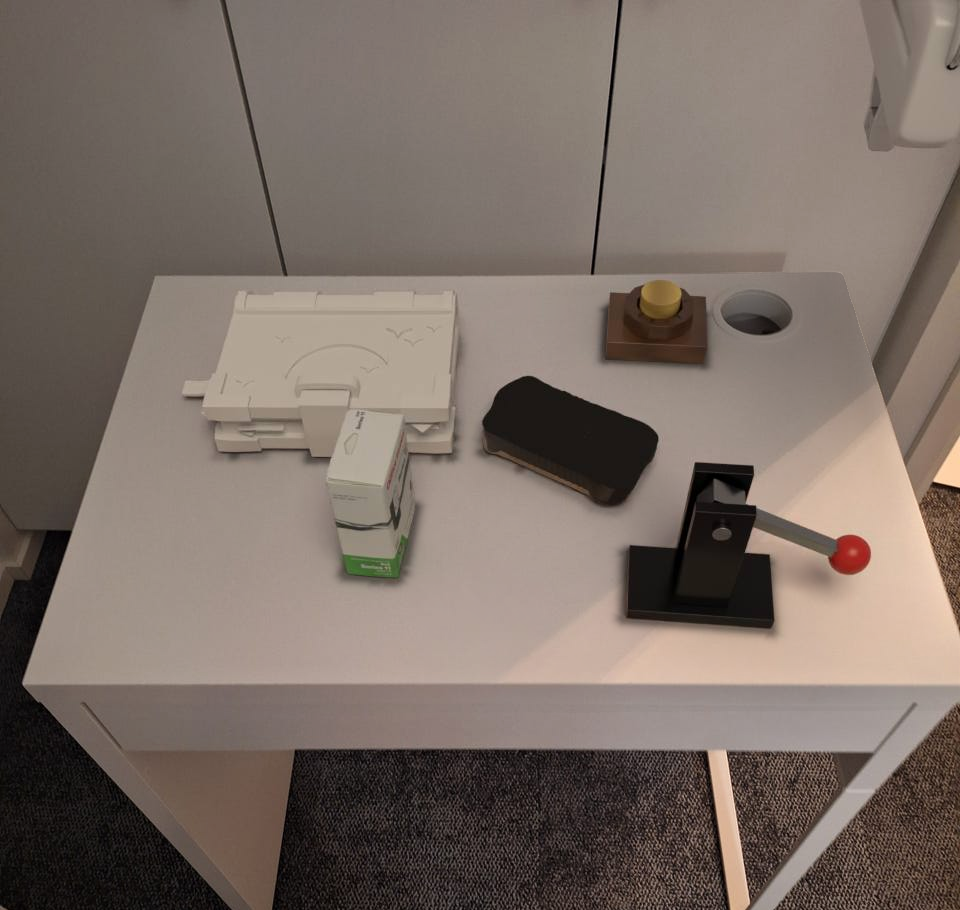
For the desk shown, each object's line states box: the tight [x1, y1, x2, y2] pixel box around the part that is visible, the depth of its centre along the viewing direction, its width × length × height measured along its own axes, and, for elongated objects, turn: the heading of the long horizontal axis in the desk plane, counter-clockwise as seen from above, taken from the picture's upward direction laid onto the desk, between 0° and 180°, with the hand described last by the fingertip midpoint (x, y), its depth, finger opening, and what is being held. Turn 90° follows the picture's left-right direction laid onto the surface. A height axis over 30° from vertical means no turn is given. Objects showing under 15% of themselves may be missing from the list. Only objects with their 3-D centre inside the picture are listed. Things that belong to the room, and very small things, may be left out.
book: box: [181, 289, 460, 458], centre depth 93 cm, size 19×28×8 cm
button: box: [640, 279, 682, 319], centre depth 95 cm, size 4×4×2 cm
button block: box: [605, 284, 708, 365], centre depth 97 cm, size 10×8×4 cm
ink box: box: [325, 407, 416, 579], centre depth 80 cm, size 9×5×12 cm, turn 171°
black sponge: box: [481, 375, 660, 507], centre depth 89 cm, size 16×8×4 cm, turn 56°
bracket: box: [625, 461, 776, 630], centre depth 76 cm, size 12×7×13 cm, turn 84°
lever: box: [697, 478, 872, 576], centre depth 73 cm, size 15×3×3 cm, turn 83°
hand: (877, 140), depth 66 cm, fingers closed
